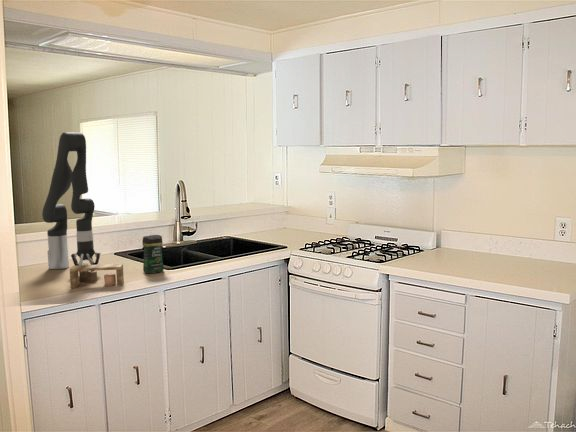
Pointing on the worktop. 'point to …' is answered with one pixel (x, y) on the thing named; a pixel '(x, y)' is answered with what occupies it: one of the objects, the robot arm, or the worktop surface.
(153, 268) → the coffee jar
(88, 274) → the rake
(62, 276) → the worktop surface
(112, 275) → the reddish brown block
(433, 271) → the worktop surface
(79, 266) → the shelf
